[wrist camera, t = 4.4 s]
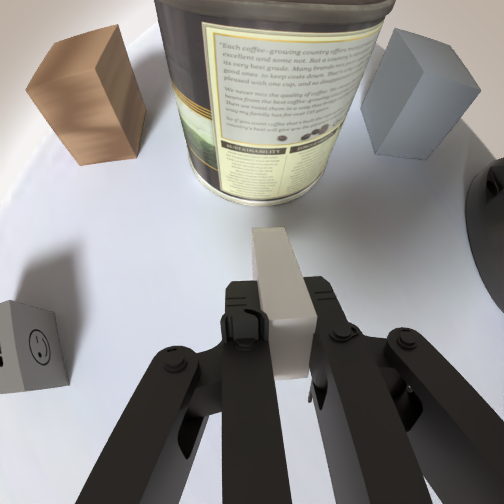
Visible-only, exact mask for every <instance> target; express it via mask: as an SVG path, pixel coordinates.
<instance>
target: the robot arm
mask: <svg viewBox="0 0 504 504" xmlns="http://www.w3.org/2000/svg"><path fill="white" fill-rule="evenodd" d="M466 217H467V228H468V234H469V240H470V244H471V248H472V252H473V255H474V259H475V262H476V265H477V268H478V270H479V273H480V275H481V278H482V280H483V282H484V284H485V286H486V288H487V290H488V292H489V294H490V295H491V297H492V299H493V300H494V302H495V303H496V304H497V306H498V307H499V308H500V309H501V311H502V312H503V313H504V158H501V159H498V160H495V161H494V162H492V163H490V164H489V165H488V166H487V167H486V168H485V169H483V170H482V171H481V172H480V173H479V174H478V175H477V176H476V177H475V178H474V180H473V181H472V183H471V185H470V188H469V191H468V196H467V205H466ZM252 266H253V281H231V283H230V284H229V285H228V287H227V288H226V294H225V314H224V315H223V316H222V318H221V321H220V323H221V333H222V341H221V342H220V343H219V344H218V345H217V346H215V347H214V348H212V349H210V350H207V351H204V352H200V353H195V352H194V351H193V350H192V349H190V348H187V347H184V346H171V347H167V348H165V349H163V350H161V351H159V352H158V353H157V354H156V356H155V357H154V358H153V360H152V361H151V363H150V365H149V367H148V368H147V370H146V372H145V374H144V376H143V377H142V379H141V381H140V383H139V384H138V386H137V388H136V390H135V392H134V393H133V395H132V397H131V399H130V401H129V402H128V404H127V406H126V408H125V410H124V411H123V413H122V415H121V417H120V419H119V421H118V422H117V424H116V426H115V428H114V430H113V432H112V433H111V435H110V437H109V439H108V441H107V443H106V445H105V446H104V448H103V450H102V452H101V454H100V456H99V458H98V460H97V462H96V464H95V465H94V467H93V469H92V471H91V473H90V475H89V477H88V479H87V481H86V483H85V485H84V487H83V489H82V491H81V493H80V495H79V497H78V499H77V501H76V503H75V504H179V501H180V498H181V495H182V493H183V490H184V487H185V484H186V481H187V478H188V476H189V473H190V470H191V467H192V464H193V461H194V458H195V456H196V453H197V450H198V447H199V444H200V441H201V438H202V435H203V432H204V430H205V427H206V424H207V421H208V418H209V415H212V414H215V413H218V412H222V503H223V504H292V499H291V492H290V485H289V478H288V471H287V464H286V457H285V450H284V443H283V436H282V429H281V422H280V415H279V408H278V402H277V395H276V388H275V381H274V380H286V379H297V378H307V377H308V373H309V368H310V372H311V376H312V381H311V386H310V391H309V396H308V403H310V402H311V401H312V397H313V402H314V406H315V410H316V414H317V419H318V423H319V428H320V432H321V436H322V441H323V445H324V450H325V454H326V459H327V463H328V468H329V472H330V477H331V482H332V486H333V491H334V496H335V501H336V504H433V503H432V500H431V497H430V494H429V491H428V488H427V485H426V483H425V480H424V477H425V479H426V480H427V482H428V483H429V484H430V486H431V487H432V489H433V490H434V492H435V493H436V494H437V496H438V497H439V499H440V500H441V502H442V503H443V504H504V421H503V420H502V419H501V418H500V417H499V416H498V415H497V413H496V412H495V411H494V410H493V409H492V408H491V407H490V406H489V404H488V403H487V402H486V401H485V400H484V399H483V398H482V397H481V396H480V395H479V394H478V392H477V391H476V390H475V389H474V388H473V387H472V386H471V385H470V384H469V383H468V382H467V381H466V380H465V379H464V377H463V376H462V375H461V374H460V373H459V372H458V371H457V370H456V369H455V368H454V367H453V366H452V365H451V364H450V363H449V362H448V361H447V360H446V359H445V358H444V357H443V356H442V355H441V354H440V353H439V352H438V351H437V350H436V349H435V348H434V347H433V346H432V345H431V344H430V343H429V342H428V341H427V340H426V339H425V338H424V337H423V336H422V335H421V334H420V333H418V332H417V331H416V330H413V329H410V328H404V327H400V328H395V329H394V330H392V331H390V333H389V335H388V336H387V339H386V338H377V337H369V336H365V335H363V334H362V332H361V331H360V329H359V328H358V327H357V326H355V325H354V324H352V323H349V322H348V321H347V319H346V316H345V314H344V312H343V310H342V308H341V306H340V304H339V301H338V299H337V297H336V295H335V293H334V292H333V289H332V287H331V285H330V283H329V282H328V281H327V280H325V279H324V278H323V277H322V276H314V277H303V276H302V273H301V271H300V268H299V265H298V263H297V260H296V257H295V255H294V252H293V250H292V247H291V244H290V242H289V239H288V236H287V234H286V231H285V229H284V227H273V228H252ZM408 385H409V386H410V387H411V388H410V387H409V386H408ZM423 476H424V477H423Z"/></svg>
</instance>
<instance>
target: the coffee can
mask: <svg viewBox="0 0 504 504" xmlns="http://www.w3.org/2000/svg"><path fill="white" fill-rule="evenodd" d="M395 1H396V0H154V2H155V7H156V12H157V17H158V23H159V27H160V32H161V36H162V41H163V45H164V50H165V54H166V59H167V63H168V68H169V73H170V77H171V81H172V85H173V89H174V94H175V98H176V103H177V106H178V111H179V115H180V119H181V123H182V127H183V131H184V136H185V139H186V143H187V147H188V156H189V161H190V164H191V167H192V169H193V171H194V173H195V174H196V176H197V177H198V179H199V180H200V181H201V182H202V183H203V184H204V185H205V186H206V187H207V188H208V189H209V190H211V191H212V192H214V193H215V194H217V195H218V196H220V197H222V198H224V199H226V200H229V201H231V202H235V203H239V204H243V205H249V206H272V205H279V204H284V203H287V202H289V201H291V200H294V199H296V198H298V197H300V196H302V195H304V194H305V193H306V192H308V191H309V190H310V189H311V188H312V187H313V186H314V185H315V184H316V183H317V182H318V181H319V179H320V178H321V176H322V175H323V173H324V171H325V168H326V164H327V160H328V158H329V156H330V153H331V151H332V149H333V146H334V144H335V142H336V139H337V137H338V134H339V132H340V130H341V127H342V125H343V123H344V120H345V118H346V116H347V113H348V111H349V108H350V106H351V104H352V101H353V99H354V96H355V94H356V91H357V89H358V86H359V84H360V81H361V79H362V76H363V74H364V71H365V69H366V66H367V64H368V61H369V59H370V56H371V53H372V51H373V48H374V46H375V43H376V41H377V38H378V35H379V33H380V29H381V27H382V24H383V22H384V19H385V16H386V15H387V14H389V13H390V12H391V10H392V9H393V6H394V4H395Z"/></svg>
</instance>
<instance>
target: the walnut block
mask: <svg viewBox="0 0 504 504" xmlns="http://www.w3.org/2000/svg"><path fill="white" fill-rule="evenodd" d="M26 92H27V93H28V95H29V96H30V98H31V99H32V101H33V102H34V104H35V105H36V106H37V108H38V109H39V111H40V112H41V114H42V115H43V117H44V118H45V119H46V121H47V122H48V124H49V125H50V126H51V128H52V129H53V131H54V132H55V133H56V135H57V136H58V137H59V139H60V140H61V142H62V143H63V144H64V146H65V147H66V148H67V150H68V151H69V152H70V154H71V155H72V156H73V158H74V159H75V160H76V161H77V163H78V164H79V165H80V166H83V165H89V164H96V163H103V162H111V161H118V160H126V159H135V158H137V154H138V149H139V143H140V138H141V133H142V128H143V123H144V119H145V114H146V108H145V105H144V102H143V100H142V97H141V94H140V91H139V88H138V85H137V82H136V79H135V76H134V73H133V70H132V67H131V64H130V61H129V58H128V55H127V51H126V48H125V45H124V42H123V39H122V36H121V32H120V29H119V26H118V24H117V25H113V26H109V27H105V28H101V29H97V30H94V31H90V32H87V33H83V34H80V35H77V36H74V37H71V38H68V39H65V40H62V41H59V42H56V43H54V45H53V46H52V48H51V49H50V51H49V52H48V53H47V55H46V57H45V58H44V60H43V61H42V63H41V64H40V66H39V67H38V69H37V71H36V72H35V74H34V76H33V78H32V79H31V81H30V83H29V84H28V86H27V88H26Z"/></svg>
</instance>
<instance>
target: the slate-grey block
mask: <svg viewBox="0 0 504 504" xmlns="http://www.w3.org/2000/svg"><path fill="white" fill-rule="evenodd" d="M480 92H481V89H480V88H479V87H478V85H477V83H476V82H475V80H474V79H473V77H472V76H471V74H470V73H469V71H468V70H467V68H466V67H465V65H464V64H463V63H462V61H461V60H460V58H459V57H458V55H457V54H456V53H455V52H454V50H453V49H452V48H451V46H449V45H447V44H444V43H441V42H439V41H436V40H433V39H430V38H427V37H424V36H420V35H417V34H414V33H411V32H407V31H404V30H400V29H397V28H395V29H394V31H393V34H392V36H391V39H390V41H389V43H388V46H387V49H386V51H385V53H384V55H383V58H382V60H381V63H380V65H379V67H378V70H377V72H376V74H375V77H374V79H373V81H372V84H371V86H370V88H369V90H368V93H367V95H366V97H365V100H364V102H363V104H362V106H361V112H362V115H363V118H364V121H365V124H366V127H367V130H368V133H369V136H370V139H371V143H372V146H373V149H374V153H375V155H384V156H395V157H405V158H414V159H422V160H426V159H427V158H428V157H429V155H430V154H431V153H432V152H433V151H434V150H435V148H436V147H437V146H438V145H439V144H440V142H441V141H442V140H443V139H444V137H445V136H446V135H447V134H448V133H449V131H450V130H451V129H452V128H453V126H454V125H455V124H456V123H457V121H458V120H459V119H460V118H461V116H462V115H463V114H464V112H465V111H466V110H467V109H468V107H469V106H470V105H471V104H472V102H473V101H474V100H475V98H476V97H477V96H478V94H479V93H480Z"/></svg>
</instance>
